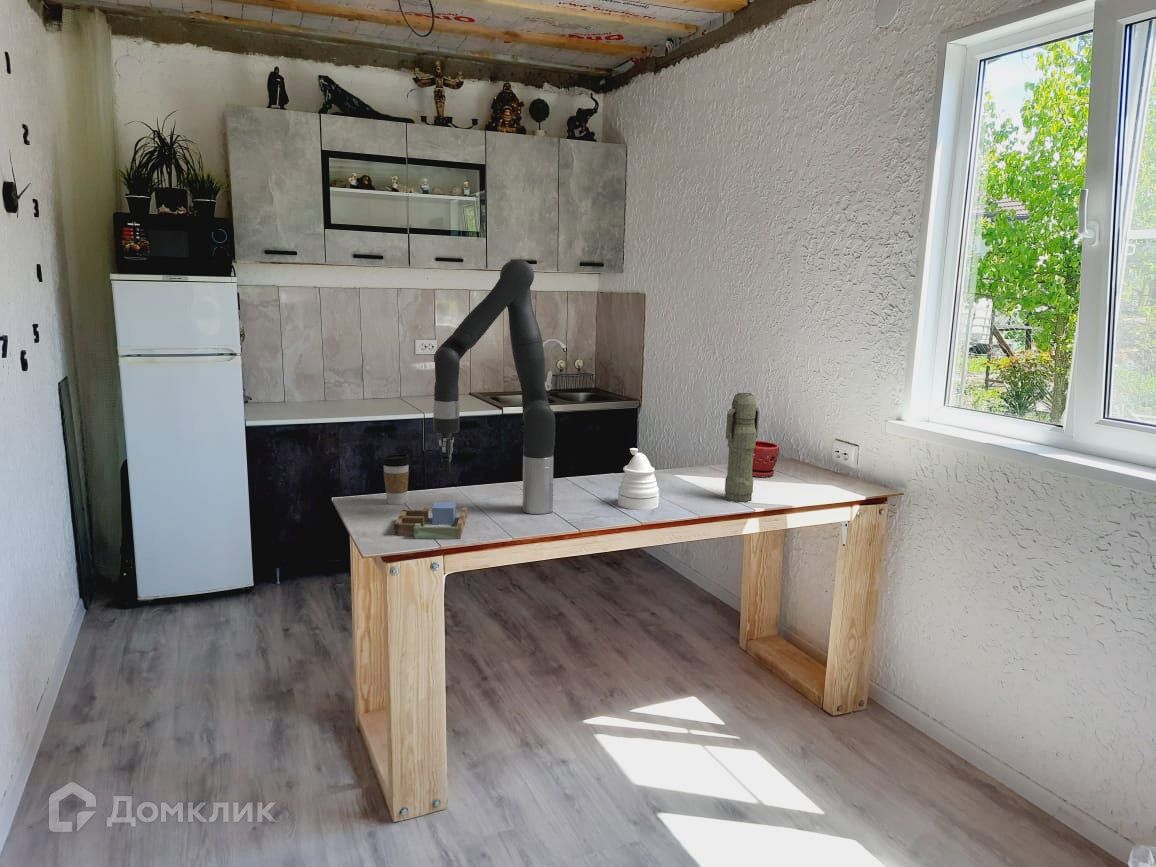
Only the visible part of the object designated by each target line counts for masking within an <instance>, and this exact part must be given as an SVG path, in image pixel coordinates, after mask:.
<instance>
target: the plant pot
mask: <svg viewBox="0 0 1156 867" xmlns="http://www.w3.org/2000/svg"><path fill="white" fill-rule="evenodd" d="M779 453H780V445H778V443H774V442H769V441H764V440H756V444H755V449H754V451H753V467H752V477H754V476H755V478H767V477H768V476H769V477H772V476H773V475H774V473H775V470H774V469H775V466H776V464H777V462H778V458H779ZM769 477H768V478H769Z"/></svg>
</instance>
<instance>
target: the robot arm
mask: <svg viewBox="0 0 1156 867" xmlns="http://www.w3.org/2000/svg"><path fill="white" fill-rule="evenodd" d="M499 272H500V273H499V279H498V280H497V282H496V283H495V285H494V286H493V288H492V289H491V290H490V291H489V293H488V294H487V295H486V296H485V297H484V298H483V299H482V300H481V301H480V302H479V303H478V304H477V305H476V306H475V307H474V308H473V309H472V310H471V311H470V312H469V313H468V314H467V316H465V318H464V319H463V320H462V321H461V323H460V324H459V325H458V326H457V328H456V329H455V330H454V331H453V332H452V334H451V335H450V336H449V337H448V338H447V339H446V340H445V341H443V343H442V344H440V346H439V347H438V348H437V349H436V350H435V353H434V355H433V363H434V369H435V370H434V373H435V383H434V386H433V387H434V389H433V390H434V391H433V392H434V394H433V395H434V397H433V415H432V416H433V418H432V421H433V423H432V424H433V427H432V428H433V432H434V433H437V434H441V436H440V437H439V438H438V445H439V448H438V449H439V455H440V461H441V463H442V464H441V466H442V467H441V468H442V469H441V471H442V472H441V473H442V474H443V475H449V474H450V473H451V460H452V457H453V454H452V453H453V451H454V446H453V445H454V442H455V437H454V436H453V437H452V434H456V433H459V432H460V402H459V394H460V392H459V391H460V390H459V389H460V388H459V378H460V364H461V362H460V361H461V359H463V357H464V355H465V354H466V353H467V352H468V351H469V350H470V349H472V348H473V347H474V346H475V345H476V344H477V343H478V342H479V341H480V340H481V338H482V337H483V336H484V335H485V333H486V332H487V331H488V330H489V329H490V328H491V326H492V325H493V323H495V321H496V320H497V318H498V317H500V315H501V313H502V312H503V311H504V310H505V309H506V308H507V311H508V313H507V314H508V325H509V326H508V328H509V336H510V345H511V352H512V358H513V362H514V366H515V370H516V374H517V377H518V378H517V379H518V381H519V385H520V390H521V391H520V392H521V401H522V402H521V405H522V421H523V423H524V424H523V426H524V427H523V446H522V505H521V506H522V511H523V512H524V513H527V514H532V515H537V514H538V515H544V514H548V513H553V512H554V450H555V446H556V445H555V444H556V441H555V440H556V416H555V413H554V411H553V409H552V408H551V406H550V402H549V398H548V394H547V390H546V385H545V383H546V382H545V372H546V371H545V370H546V369H545V368H546V367H545V366H546V364H545V362H546V360H545V350H544V344H543V338H542V334H541V333H542V332H541V330H540V327H539V323H538V320H537V318H536V314H535V312H534V309H533V304H532V295H531V293H532V292H531V286H532V285H533V282H534V280H535V279H534V278H535V272H534V269H533V267H532V265H531V264H530V263H528V262H527V261H526V260H523V259H512V260H510V261H507V262H506V263H505V264H503V266H502V267H501V269H500V271H499Z"/></svg>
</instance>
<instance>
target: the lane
mask: <svg viewBox="0 0 1156 867" xmlns="http://www.w3.org/2000/svg"><path fill="white" fill-rule="evenodd" d="M429 517H430V516H429V507H427V506H426V507H423V508H422V509H403V510H402V511H401V512H400V514H399V515H398V517H397V519H396V521H395V523H394V525H393V535H394V536H413V539H420V540H421V539H423V540H424V539H426V540H427V539H428V540H431V539H432V540H435V539H436V540H437V539H438V540H440V539H441V540H442V539H443V540H447V539H448V540H452V539H453V540H461V538H462V535H463V532H464V529H465V525H466V522H467V518H468V507H462V509H461V511H460V515H459V517H458V521H457V523H456V526H425V522H428V520H429Z"/></svg>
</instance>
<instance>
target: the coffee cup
mask: <svg viewBox="0 0 1156 867" xmlns="http://www.w3.org/2000/svg"><path fill="white" fill-rule="evenodd" d="M410 462H411V460H410V454H408V453H396V454H394V453H393V454H387V455H384V456H383V457H382V462H381V463H382V464H381V465H382V466H383V478H384V485H385V486H384V487H385V493H386V495H385V496H386V503H387V504H389V505H392V506H393V505H395V506H400V505H404V504H406V503H407V501H408V500H407V499H408V498H407V497H408V486H409V474H410V470H409V466H410V464H411V463H410Z"/></svg>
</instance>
